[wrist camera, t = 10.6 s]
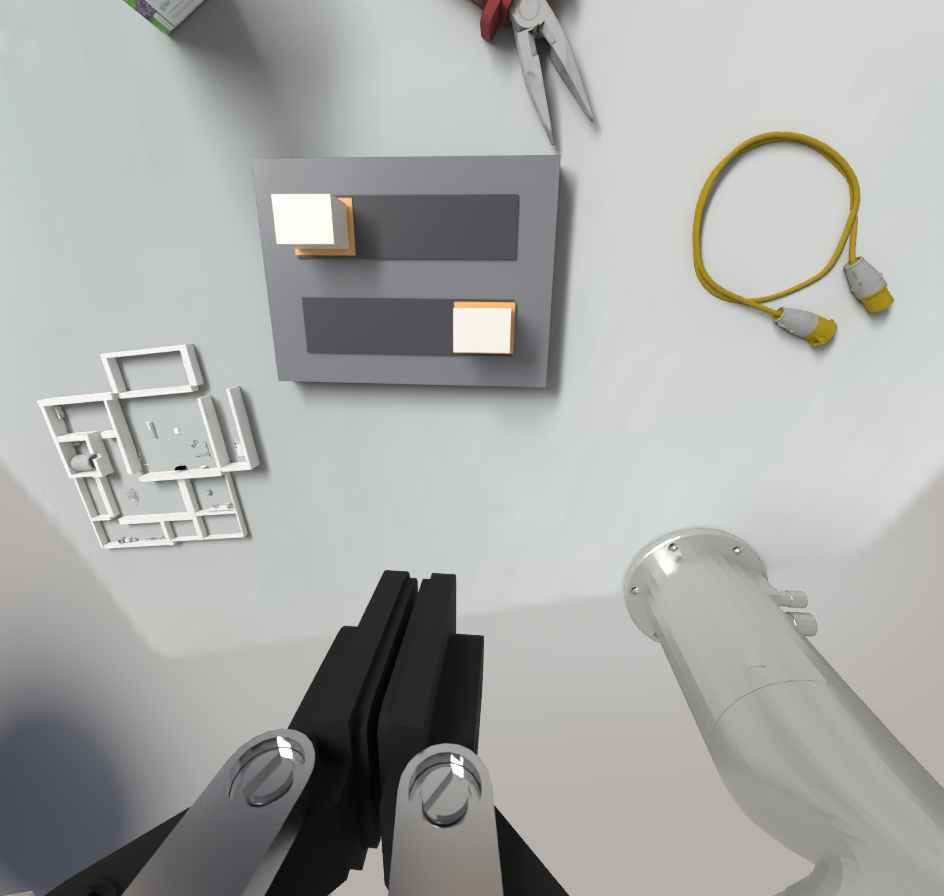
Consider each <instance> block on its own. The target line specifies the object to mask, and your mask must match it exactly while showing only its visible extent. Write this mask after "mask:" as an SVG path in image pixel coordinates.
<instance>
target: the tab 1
mask: <svg viewBox="0 0 944 896" xmlns="http://www.w3.org/2000/svg"><path fill="white" fill-rule="evenodd" d="M271 198H272V207H273V216H274V224H275V233H276V242H277V244H279V245H283V246H287V247H291V248H295V249H349V240H348V225H347V211H346V203H344V202H343V201H341V200H339V199H338V198H336V197H334V196H333V195H331V194H271Z"/></svg>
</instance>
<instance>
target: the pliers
mask: <svg viewBox="0 0 944 896" xmlns="http://www.w3.org/2000/svg"><path fill="white" fill-rule="evenodd" d="M473 1H475V2H476V3H477V4H478V5H480V6H481V7H482V8H484V10H483V13H482V16H481V21H480V27H481V36H482V37H483V38H484V39H486V40H487V41H488V42H489V43H490V41H491V40H492V38H493V36H494V34H495V32H496V30H497V28H498V27H499V25H500V24H502V25H503V26H504V27H506V28H508V26H509V24H510V23H511V21H512V28H513V33H514V37H515V42H516V47H517V51H518V56H519V61H520V65H521V69H522V74H523V78H524V82H525V84H526V87H527V89H528V91H529V94H530V96H531V98H532V100H533V103H534V105H535V107H536V110H537V112H538V114H539V117H540V119H541V121H542V124H543V126H544V128H545V130H546V133H547V135H548V137H549V140H550V142H551V144H552V145H553V144H554V140H553V135H552V129H551V123H550V117H549V112H548V106H547V100H546V94H545V89H544V83H543V77H542V72H541V67H540V61H539V56H538V55H537V51H536V46H535V41H534V40H535V39H536V38H537V39H538V40H539V39H540V38H544V37H545V38H546V39H547V41H548V42H549V44H550V46H551V53H550V60H551V62H552V64H553V65H554V67H555V68H556V70H557V72H558V73H559V75H560V76H561V78H562V79H563V81H564V82H565V84H566V85H567V87H568V88H569V90H570V91H571V92H572V94H573V95H574V97H575V98H576V100H577V101H578V103H579V104H580V106H581V107H582V109H583V110H584V111H585V113H586V114H587V116H588V117H589V119H590V120H591V122H592V121H593V120H594V117H593V114H592V111H591V108H590V105H589V102H588V98H587V95H586V92H585V89H584V86H583V83H582V80H581V77H580V73H579V70H578V67H577V64H576V61H575V58H574V55H573V52H572V48H571V46H570V43H569V41H568V39H567V37H566V35H565V33H564V31H563V29H562V27H561V25H560V24H559V22H558V20H557V18H556V16H555V15H554V13H553V11H552V10H551V8H550V6H549V5H548V3H547V1H546V0H473Z"/></svg>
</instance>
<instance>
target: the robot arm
mask: <svg viewBox="0 0 944 896" xmlns="http://www.w3.org/2000/svg"><path fill="white" fill-rule="evenodd" d="M671 543H672V544H671ZM624 599H625V603H626V607H627V609H628V611H629V614H630V616H631V618H632V620H633V622H634V623H635V624H636V626H637V627H638V628H639V629H640V630H641V631H642V632H643V633H644V634H645V635H647V636H648V637H650V638H651V639H653V640H654V641H657V642H659V643H661V645H662V648H663V650H664V652H665V654H666V657H667V659H668V661H669V663H670V666H671V668H672V670H673V672H674V674H675V677H676V679H677V681H678V683H679V686H680V688H681V690H682V692H683V695H684V697H685V699H686V701H687V703H688V706H689V708H690V710H691V712H692V714H693V717H694V719H695V721H696V724H697V726H698V728H699V730H700V733H701V735H702V737H703V739H704V741H705V744H706V745H707V748H708V750H709V753H710V755H711V757H712V759H713V761H714V763H715V765H716V767H717V770H718V772H719V774H720V776H721V778H722V780H723V783H724V784H725V786H726V788H727V790H728V792H729V793H730V795H731V796H732V798H733V799H734V801H735V802H736V803H737V805H738V806H739V807H740V808H741V809H742V811H743V812H744V813H745V814H746V815H747V816H748V817H749V819H751V820H752V821H753V822H754V823H755V824H756V825H757V826H759V827H760V828H761V829H762V830H763V831H765V832H766V833H767V834H768V835H770V836H771V837H772V838H774V839H775V840H777V841H778V842H780V843H781V844H783V845H784V846H785V847H787V848H789V849H790V850H792V851H793V852H795V853H797V854H799V855H800V856H802V857H803V858H805V859H807V860H809V861H810V862H812V863H813V864H815V868H814V870H813V871H812V872H811V873H810V874H809V875H808V876H807V877H805V878H803V879H801V880H800V881H798V882H796V883H794V884H793V885H790V886H788V887H787V888H786V890H784V891H782V892H780V893H778V894H776V895H774V896H944V788H943V787H942V786H941V785H940V784H939V783H938V782H937V781H936V780H935V779H934V778H933V777H932V776H931V775H930V774H929V772H928V771H926V769H925V768H924V767H923V766H922V765H921V764H920V763H919V762H918V761H917V760H916V759H915V758H914V757H913V756H912V754H911V753H910V752H909V751H908V750H907V749H906V748H905V747H904V746H903V745H902V744H901V743H900V742H899V741H898V740H897V739H896V737H895V736H894V735H893V734H892V733H891V732H890V731H889V730H888V729H887V728H886V727H885V725H884V724H883V723H882V722H881V721H880V720H879V719H878V717H877V716H876V715H875V714H874V713H873V712H872V711H871V710H870V709H869V707H868V706H867V705H866V704H865V703H864V702H863V701H862V700H861V699H860V698H859V697H858V696H857V695H856V693H855V692H854V691H853V690H852V689H851V688H850V687H849V686H848V685H847V683H846V682H845V681H844V680H843V679H842V678H841V677H840V675H839V674H838V673H837V672H836V671H835V670H834V669H833V668H832V667H831V666H830V664H829V663H828V662H827V661H826V660H825V659H824V657H823V656H822V655H821V654H820V653H819V652H818V651H817V650H816V649H815V647H814V646H813V645H812V644H811V643H810V642H809V641H808V639H807V638H805V636H814V635H816V633H817V623H816V620H815V618H814V617H813V615H811V614H810V613H798V612H785V613H783V611H782V610H781V609H780V608H779V606H787V607H795V608H806V606H807V604H808V599H807V596H806V595H805V593H804V592H801V591H777V589H775V588H773V587H772V586H771V585H770V584H769V583H768V578H767V572H766V570H765V568H764V566H763V563H762V561H761V560H760V559H759V557H758V556H757V555H756V553H755V552H754V551H753V550H752V549H751V548H750V547H749V546H748V545H747V544H745V543H744V542H742V541H741V540H739V539H738V538H736V537H734V536H732V535H730V534H727V533H725V532H721V531H717V530H712V529H690V530H682V531H679V532H675V533H672V534H669V535H667V536H664V537H662V538H660V539H658V540H656V541H655V542H653V543H652V544H651V545H649V546H648V547H646V548H645V549H644V550H643V551H642V552H641V553H640V554H639V555H638V556H637V557H636V559H635V560H634V562H633V563H632V565H631V566H630V568H629V571H628V573H627V575H626V579H625V584H624ZM483 655H484V636H480V635H466V634H456V575H455V574H440V573H432V575H431V579H423V580H422V583H421V586H420V589H419V592H418V582H417V579H416V578H410V574H409V572H407V571H391V570H385V571H384V573H383V575H382V577H381V579H380V581H379V583H378V585H377V587H376V589H375V591H374V593H373V596H372V598H371V600H370V602H369V604H368V606H367V608H366V610H365V612H364V614H363V616H362V619H361V621H360V623H359V625H358V627H354V626H344V627H342V628H341V629H340V631H339V632H338V634H337V636H336V638H335V640H334V642H333V644H332V645H331V647H330V649H329V651H328V653H327V655H326V657H325V659H324V660H323V662H322V664H321V666H320V668H319V670H318V672H317V674H316V676H315V678H314V680H313V681H312V683H311V685H310V687H309V689H308V691H307V693H306V695H305V696H304V699H303V700H302V702H301V704H300V706H299V708H298V710H297V712H296V713H295V715H294V717H293V719H292V721H291V723H290V725H289V727H288V729H278V730H273V731H268V732H265V733H263V734H261V735H258V736H256V737H254V738H252V739H251V740H249V741H248V742H247V743H245V744H244V745H242V746H241V747H240V748H239V749H238V750H237V751H236V752H235V753H234V754H233V755H232V756H231V757H230V758H229V759H228V760H227V761H226V763H225V764H224V765H223V767H222V768H221V769H220V770H219V772H218V773H217V774H216V776H215V777H214V778H213V780H212V781H211V782H210V783H209V784H208V786H207V787H206V788H205V790H204V791H203V792H202V794H201V795H200V796H199V797H198V799H197V800H196V801H195V802H194V804H193V805H192V806H191V807H189V808H187V809H186V810H184V811H182V812H181V813H179V814H178V815H176V816H174V817H172V818H170V819H169V820H167V821H166V822H164V823H162V824H160V825H159V826H157V827H155V828H154V829H152V830H150V831H149V832H147V833H145V834H144V835H142V836H140V837H138V838H137V839H135V840H134V841H132V842H130V843H128V844H127V845H125V846H123V847H122V848H120V849H118V850H117V851H115V852H113V853H112V854H110V855H108V856H106V857H105V858H103V859H101V860H100V861H98V862H96V863H95V864H93V865H91V866H90V867H88V868H86V869H85V870H83V871H81V872H80V873H78V874H76V875H74V876H73V877H71V878H69V879H68V880H66V881H65V882H63V883H62V884H60V885H59V886H57V887H56V888H55V889H53V890H52V891H51V892H49V893H47V894H46V895H45V896H331V892H333V891H334V890H335V889H336V888H337V887H339V886H340V885H341V884H342V883H343V882H344V881H346V880H347V877H348V873H349V870H350V869H355V870H362V869H363V865H364V861H365V858H366V854H367V850H368V848H377V847H378V845H379V842H380V839H381V837H382V853H383V867H384V881H385V885H386V887H387V889H388V891H389V892H388V896H569V895H568V894H567V892H566V891H565V890H564V889H563V888H562V886H561V885H560V884H559V883H558V882H557V880H556V879H555V878H554V877H553V876H552V874H551V873H550V872H549V871H548V869H547V868H546V867H545V866H544V865H543V863H542V862H541V861H540V860H539V859H538V857H537V856H536V855H535V854H534V853H533V851H532V850H531V849H530V848H529V846H528V845H527V844H526V843H525V842H524V840H523V839H522V838H521V837H520V836H519V835H518V833H517V832H516V831H515V830H514V828H513V827H512V826H511V825H510V823H509V822H508V821H507V820H506V819H505V817H504V816H503V815H502V814H501V813H500V812H499V810H498V809H497V808H496V807H495V806H494V801H493V792H492V784H491V780H490V776H489V772H488V770H487V768H486V766H485V765H484V763H483V762H482V760H481V758H479V757H478V756H477V751H478V739H479V726H480V712H481V699H482V681H483ZM5 896H35V895H34V893H33V891H29V892H23V893H18V894H12V895H5Z"/></svg>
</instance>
